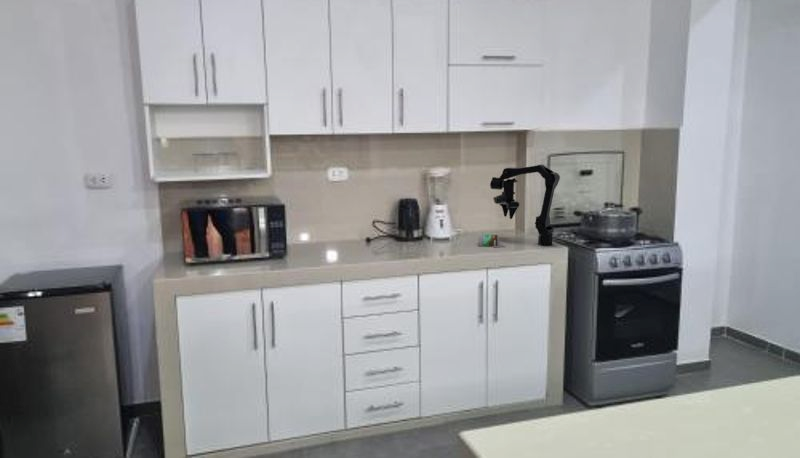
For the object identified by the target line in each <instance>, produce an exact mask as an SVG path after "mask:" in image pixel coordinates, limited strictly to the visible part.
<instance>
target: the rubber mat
mask: <svg viewBox="0 0 800 458" xmlns="http://www.w3.org/2000/svg"><path fill="white" fill-rule="evenodd" d="M491 247H492V248H493V249H494V248H506V245H504V244H503V243H500V242H499V241H498V245H497V246H491Z"/></svg>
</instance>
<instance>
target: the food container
mask: <svg viewBox="0 0 800 458" xmlns="http://www.w3.org/2000/svg"><path fill="white" fill-rule="evenodd" d="M477 240H478V247H482V248H483V247H492V246H497V245H498V242H499V235H498V234H491V233H490V234H487V233H486V234H485V233H483V232H481V233H478V239H477Z"/></svg>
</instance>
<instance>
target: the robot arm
mask: <svg viewBox="0 0 800 458" xmlns="http://www.w3.org/2000/svg"><path fill="white" fill-rule="evenodd" d="M534 173H538V174H539V175H540V176H541V178H543V179H544V185H545V187H544V188H545V191H544V195H543V201H542V206H541V210H540V214H539V215H538V216H536V217H535V222H534V225H535V229H536V230H537V233H538V234H539V235H538V239H537V241H538V242H537V244H538V245H540V246H541V247H542V246H543V247H544V246H554V244H553V233H554V231H555V229H554V228H553V226H552V225H551V218H550V212H551V208H552V203H553V200H554V199H553V198H554V194H555V193H554V192H555V190H556V188H557V186H558V184H559V182H560V180H561V176H560V174H559V173H558V172H555V171H553V170H551V169H550V168H548V167H547V166H545V164H538V165H533V166H532V165H531V166H525V167H524V166H523V167H512V166H511V167H505V168H504V169H503V170H502V174H501V175H500V176H499V177H497V176H494V177H492V178H491V181H490V183H489V187H490V189H491V190H500V191H501V190H503V191H501V194H500V195H496V196H494V197H493V198H492V199H493V202H494V204H496V205H498V206H500V207H501V208H502V212H503V216H504V217H507V216H508V214H509V219H510V220H512V219H513V218H514V216H515V214H516V211H518V209H519V207H520V202H519V201H516V199H514V198H515V197H514V196H515V194H516V192H515V183H519V181H518V180H517V179H516V177H518V176H520V175H526V174H534Z"/></svg>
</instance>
